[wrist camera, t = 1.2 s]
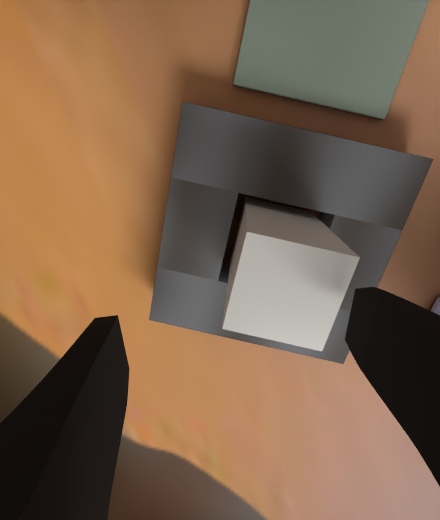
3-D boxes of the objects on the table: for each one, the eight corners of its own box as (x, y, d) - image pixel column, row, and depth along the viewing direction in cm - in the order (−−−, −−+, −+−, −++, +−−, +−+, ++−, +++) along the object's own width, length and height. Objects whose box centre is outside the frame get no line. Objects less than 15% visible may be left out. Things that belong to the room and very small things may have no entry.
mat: (454, -78, 13) (460, -84, 13) (381, 119, 16) (385, 119, 16) (275, -120, 13) (275, -128, 13) (233, 85, 16) (233, 84, 16)
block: (311, 212, 18) (360, 257, 11) (291, 273, 19) (322, 351, 12) (245, 197, 18) (246, 231, 11) (230, 259, 19) (222, 328, 12)
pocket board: (406, 157, 17) (433, 159, 14) (332, 339, 21) (343, 363, 19) (191, 108, 17) (182, 101, 14) (159, 300, 21) (149, 319, 18)
